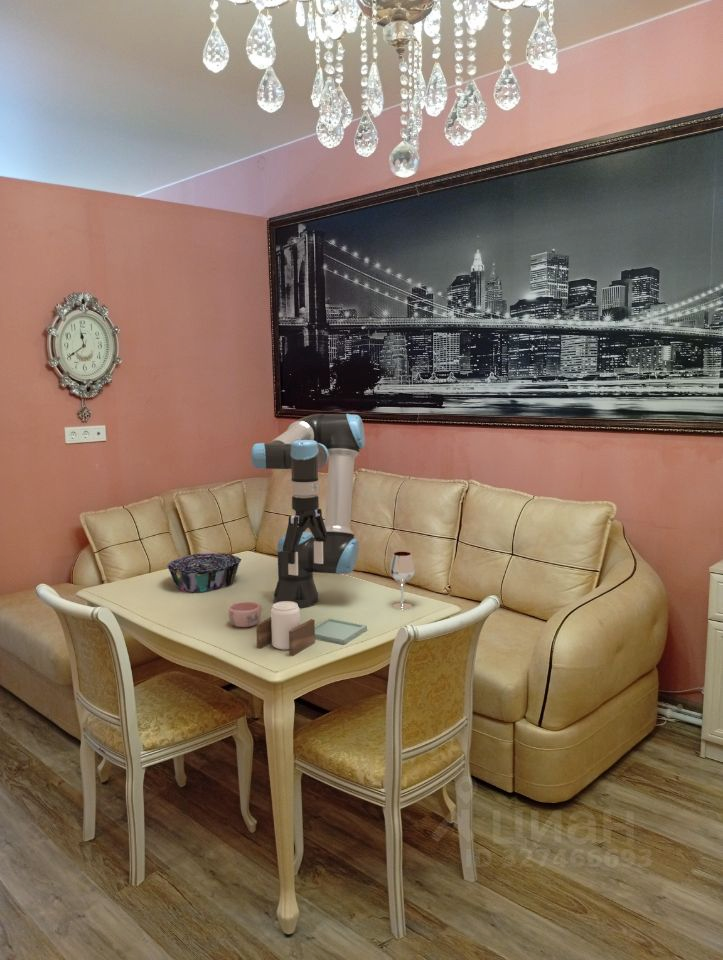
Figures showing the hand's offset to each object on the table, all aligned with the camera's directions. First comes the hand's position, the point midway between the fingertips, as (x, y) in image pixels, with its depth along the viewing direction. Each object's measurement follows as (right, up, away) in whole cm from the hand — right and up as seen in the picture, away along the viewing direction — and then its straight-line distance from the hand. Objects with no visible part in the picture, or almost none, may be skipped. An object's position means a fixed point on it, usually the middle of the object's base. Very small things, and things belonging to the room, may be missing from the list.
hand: (306, 568), depth 215 cm
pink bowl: (-20, -19, +19) cm, 33 cm away
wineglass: (+29, -17, +33) cm, 47 cm away
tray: (+8, -20, +10) cm, 24 cm away
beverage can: (-6, -22, +1) cm, 23 cm away
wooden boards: (-6, -22, +1) cm, 23 cm away
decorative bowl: (-41, -13, +60) cm, 74 cm away
